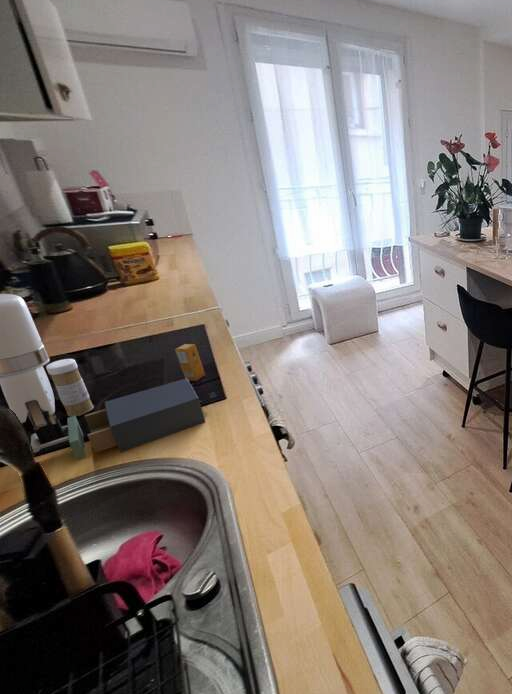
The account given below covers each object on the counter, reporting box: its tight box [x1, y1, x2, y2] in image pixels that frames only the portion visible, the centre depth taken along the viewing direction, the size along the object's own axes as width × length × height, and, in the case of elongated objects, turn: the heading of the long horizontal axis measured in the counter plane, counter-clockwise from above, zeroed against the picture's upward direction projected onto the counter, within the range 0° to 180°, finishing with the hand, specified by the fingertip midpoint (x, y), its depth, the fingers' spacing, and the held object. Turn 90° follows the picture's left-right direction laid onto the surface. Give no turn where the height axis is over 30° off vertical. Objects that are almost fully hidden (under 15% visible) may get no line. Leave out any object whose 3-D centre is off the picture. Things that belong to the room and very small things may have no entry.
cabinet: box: [104, 377, 206, 453], centre depth 94 cm, size 15×13×7 cm
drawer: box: [30, 408, 118, 461], centre depth 88 cm, size 19×11×5 cm, turn 138°
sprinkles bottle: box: [45, 358, 95, 417], centre depth 96 cm, size 5×5×14 cm
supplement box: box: [174, 343, 206, 382], centre depth 112 cm, size 3×3×10 cm
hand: (53, 440), depth 83 cm, fingers closed
